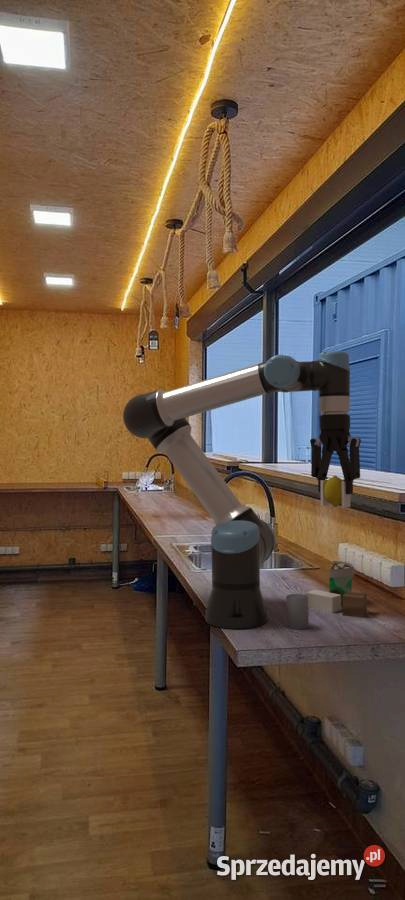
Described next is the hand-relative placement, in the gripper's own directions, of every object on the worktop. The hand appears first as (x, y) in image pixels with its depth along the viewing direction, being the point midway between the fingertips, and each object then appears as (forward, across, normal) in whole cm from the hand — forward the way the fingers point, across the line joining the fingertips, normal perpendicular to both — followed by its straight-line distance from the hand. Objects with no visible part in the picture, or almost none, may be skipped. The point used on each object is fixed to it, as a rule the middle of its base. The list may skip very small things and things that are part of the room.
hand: (335, 506), depth 159 cm
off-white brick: (+27, +5, -1) cm, 27 cm away
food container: (+27, +4, -9) cm, 29 cm away
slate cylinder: (+27, 0, +16) cm, 31 cm away
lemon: (+1, 0, 0) cm, 1 cm away
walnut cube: (+27, -4, -2) cm, 27 cm away
